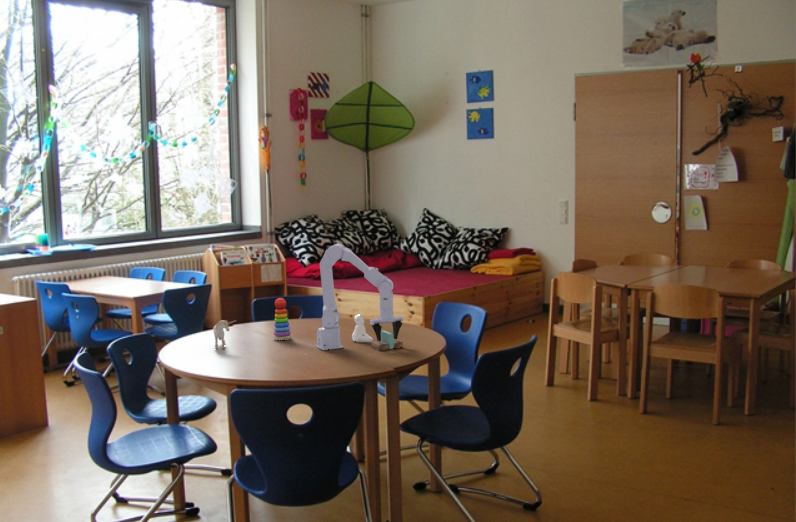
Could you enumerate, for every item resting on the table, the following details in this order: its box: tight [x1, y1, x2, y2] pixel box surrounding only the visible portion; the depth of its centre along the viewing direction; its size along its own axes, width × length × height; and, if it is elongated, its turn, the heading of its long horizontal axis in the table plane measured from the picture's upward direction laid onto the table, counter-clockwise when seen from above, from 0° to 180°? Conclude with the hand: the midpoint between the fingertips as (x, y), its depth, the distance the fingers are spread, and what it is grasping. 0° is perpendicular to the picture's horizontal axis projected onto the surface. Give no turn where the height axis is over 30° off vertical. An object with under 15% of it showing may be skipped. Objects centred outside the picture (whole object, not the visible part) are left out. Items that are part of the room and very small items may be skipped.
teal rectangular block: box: [381, 330, 394, 350], centre depth 317 cm, size 2×9×6 cm, turn 26°
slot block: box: [371, 338, 404, 351], centre depth 318 cm, size 11×7×2 cm, turn 117°
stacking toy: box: [273, 297, 292, 342], centre depth 338 cm, size 8×8×19 cm
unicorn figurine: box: [212, 319, 237, 351], centre depth 322 cm, size 7×20×13 cm, turn 33°
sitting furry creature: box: [351, 313, 374, 343], centre depth 331 cm, size 10×9×12 cm
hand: (387, 339), depth 317 cm, fingers open, 7 cm apart
